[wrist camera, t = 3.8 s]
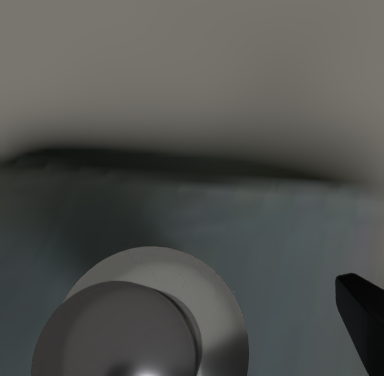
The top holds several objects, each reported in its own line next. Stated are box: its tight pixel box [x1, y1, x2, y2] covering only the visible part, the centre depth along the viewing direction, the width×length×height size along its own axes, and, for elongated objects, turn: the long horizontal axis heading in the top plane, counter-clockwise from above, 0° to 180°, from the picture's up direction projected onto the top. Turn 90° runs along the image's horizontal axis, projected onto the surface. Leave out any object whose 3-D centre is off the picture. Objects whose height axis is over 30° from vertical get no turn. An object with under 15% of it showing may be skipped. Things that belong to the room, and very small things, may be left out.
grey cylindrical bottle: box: [31, 246, 249, 376], centre depth 11 cm, size 4×4×12 cm
